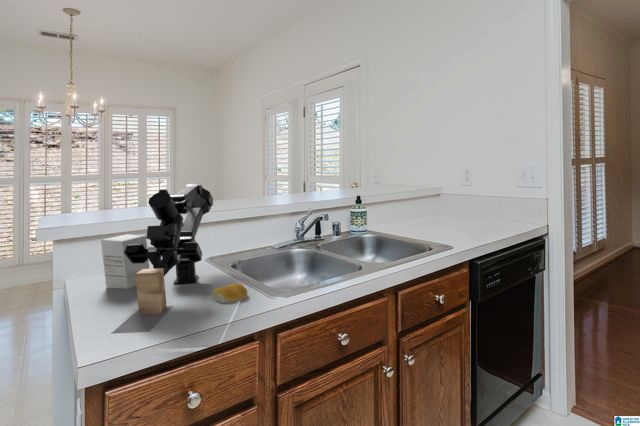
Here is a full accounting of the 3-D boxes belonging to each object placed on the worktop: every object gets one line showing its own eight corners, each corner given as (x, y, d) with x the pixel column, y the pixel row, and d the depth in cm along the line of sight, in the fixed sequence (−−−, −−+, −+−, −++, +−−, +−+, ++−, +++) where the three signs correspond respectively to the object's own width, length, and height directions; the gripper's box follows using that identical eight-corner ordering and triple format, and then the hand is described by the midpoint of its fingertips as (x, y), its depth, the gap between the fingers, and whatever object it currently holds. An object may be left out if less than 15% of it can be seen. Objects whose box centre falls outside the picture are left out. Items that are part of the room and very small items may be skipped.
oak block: (146, 307, 92) (142, 269, 91) (166, 306, 92) (163, 268, 91) (139, 314, 88) (135, 273, 87) (160, 313, 88) (156, 272, 87)
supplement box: (130, 279, 119) (125, 233, 117) (151, 281, 115) (147, 235, 114) (104, 288, 110) (99, 239, 108) (127, 291, 107) (122, 240, 105)
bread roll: (253, 296, 100) (252, 282, 99) (227, 307, 93) (226, 292, 92) (232, 291, 105) (232, 277, 104) (206, 301, 97) (205, 286, 97)
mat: (141, 309, 92) (140, 307, 92) (173, 307, 93) (173, 305, 93) (111, 335, 78) (111, 333, 78) (149, 333, 78) (149, 331, 78)
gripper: (123, 214, 96) (105, 266, 86) (196, 211, 97) (186, 263, 87) (139, 238, 105) (124, 288, 95) (205, 236, 106) (197, 285, 96)
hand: (157, 281), depth 93 cm, fingers closed
